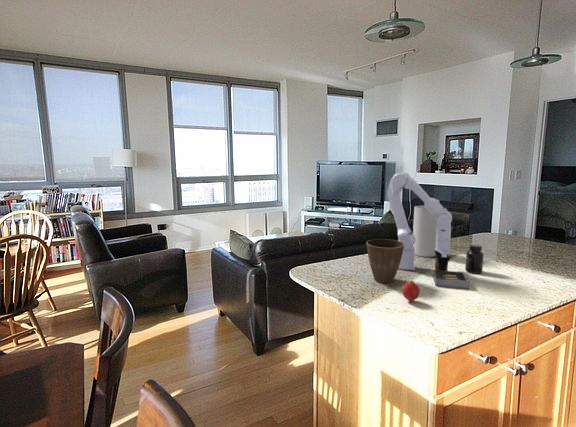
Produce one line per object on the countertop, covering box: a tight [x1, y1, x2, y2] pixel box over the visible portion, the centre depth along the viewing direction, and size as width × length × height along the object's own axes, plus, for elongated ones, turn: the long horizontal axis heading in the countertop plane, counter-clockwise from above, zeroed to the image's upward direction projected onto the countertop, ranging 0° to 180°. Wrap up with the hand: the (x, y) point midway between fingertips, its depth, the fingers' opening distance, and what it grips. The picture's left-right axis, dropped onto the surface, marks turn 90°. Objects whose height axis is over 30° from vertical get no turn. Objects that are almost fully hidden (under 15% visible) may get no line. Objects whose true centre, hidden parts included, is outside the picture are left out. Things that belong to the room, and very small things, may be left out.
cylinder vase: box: [412, 205, 438, 258], centre depth 186 cm, size 12×12×25 cm
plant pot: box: [366, 238, 404, 284], centre depth 147 cm, size 15×15×16 cm
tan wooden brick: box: [434, 258, 449, 271], centre depth 158 cm, size 5×2×6 cm, turn 73°
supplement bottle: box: [464, 244, 485, 275], centre depth 158 cm, size 7×7×12 cm
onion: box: [401, 279, 421, 303], centre depth 126 cm, size 6×6×8 cm
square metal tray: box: [432, 269, 470, 290], centre depth 145 cm, size 12×12×3 cm
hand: (441, 268), depth 158 cm, fingers open, 6 cm apart
